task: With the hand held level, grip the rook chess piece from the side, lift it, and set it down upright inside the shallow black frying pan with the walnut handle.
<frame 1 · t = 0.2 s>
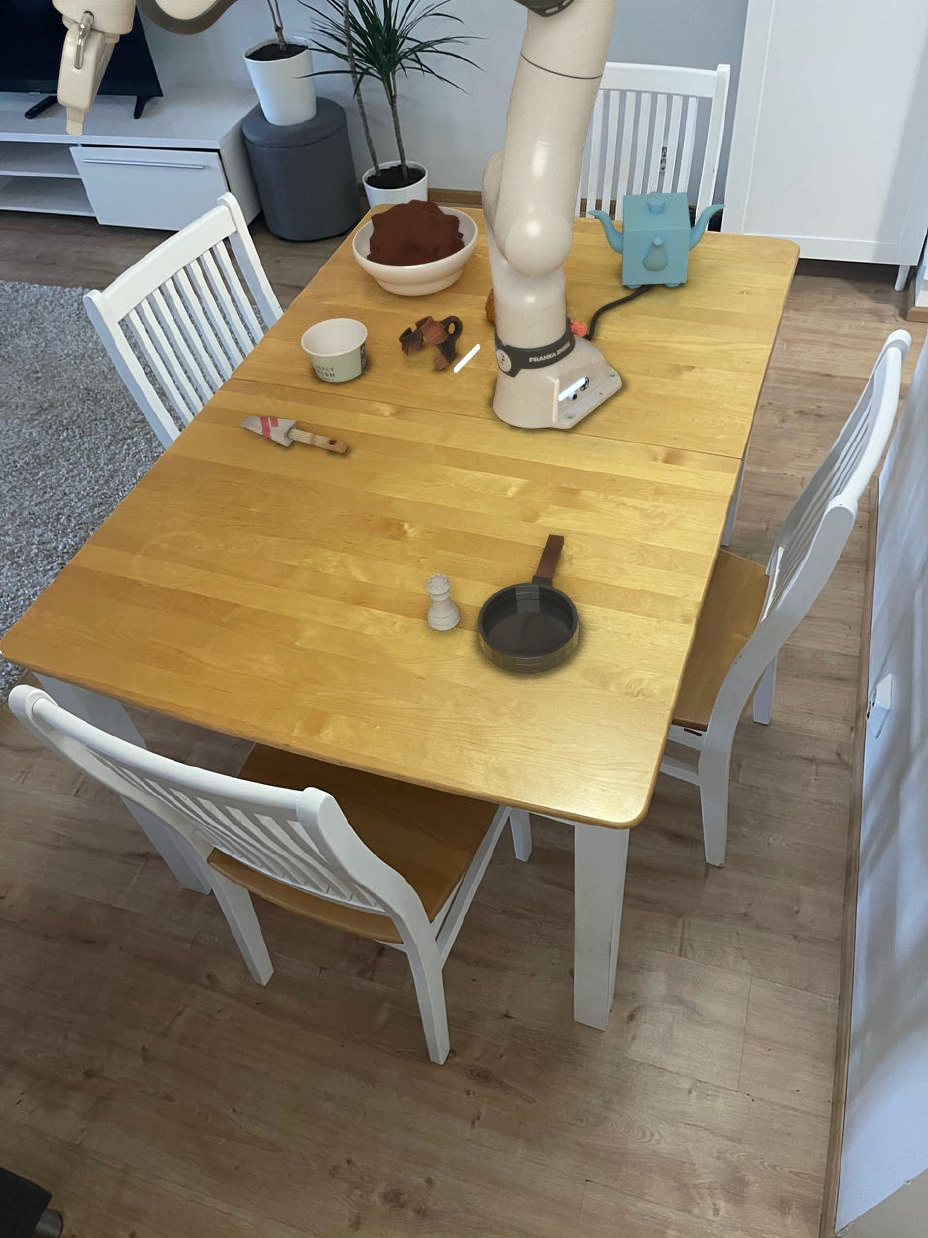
hand: (80, 118, 119), 54 cm above the table, tool tilted 30°, fingers open, 8 cm apart
rook chess piece: (444, 621, 130), on the table
teakettle: (652, 277, 184), on the table
pan: (528, 634, 127), on the table
pan handle: (548, 562, 132), point 2 cm above the table
food container: (341, 368, 174), on the table
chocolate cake: (421, 281, 192), on the table
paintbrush: (295, 441, 161), on the table
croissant: (525, 315, 179), on the table
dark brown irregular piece: (435, 355, 174), on the table
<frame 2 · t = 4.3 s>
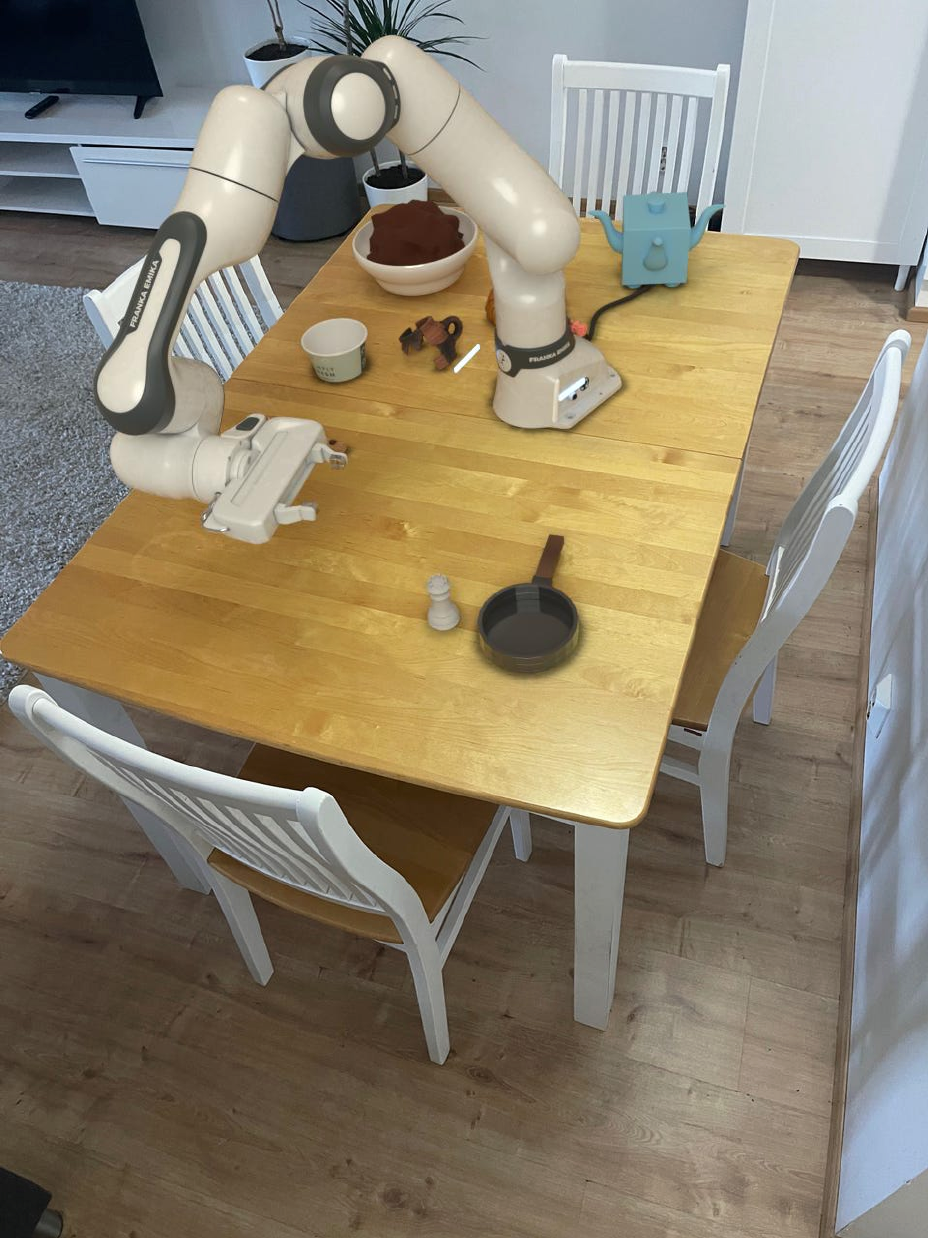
hand: (331, 486, 117), 22 cm above the table, tool horizontal, fingers open, 8 cm apart
nothing on the table moved.
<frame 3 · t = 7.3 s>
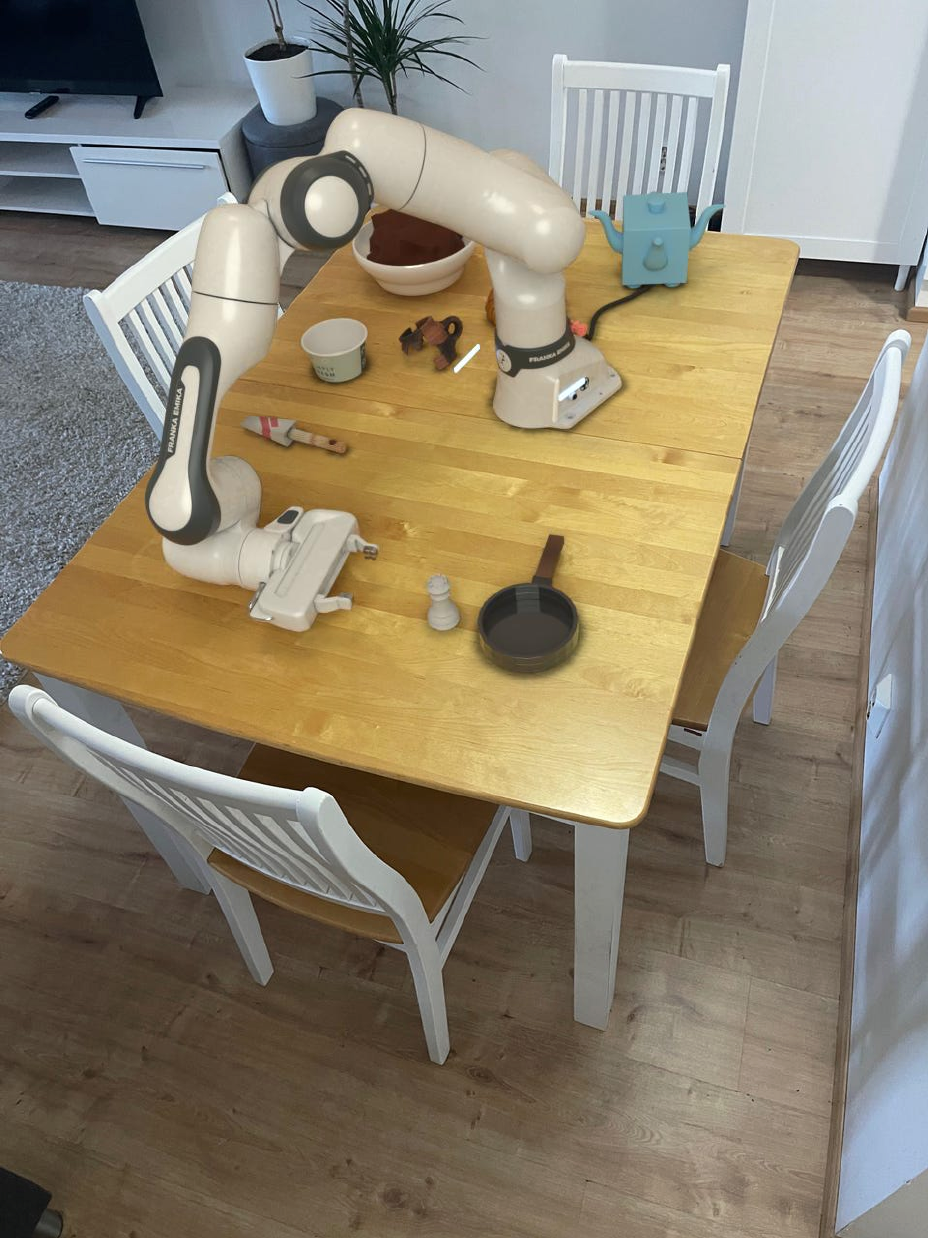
hand: (365, 576, 128), 6 cm above the table, tool horizontal, fingers open, 8 cm apart
nothing on the table moved.
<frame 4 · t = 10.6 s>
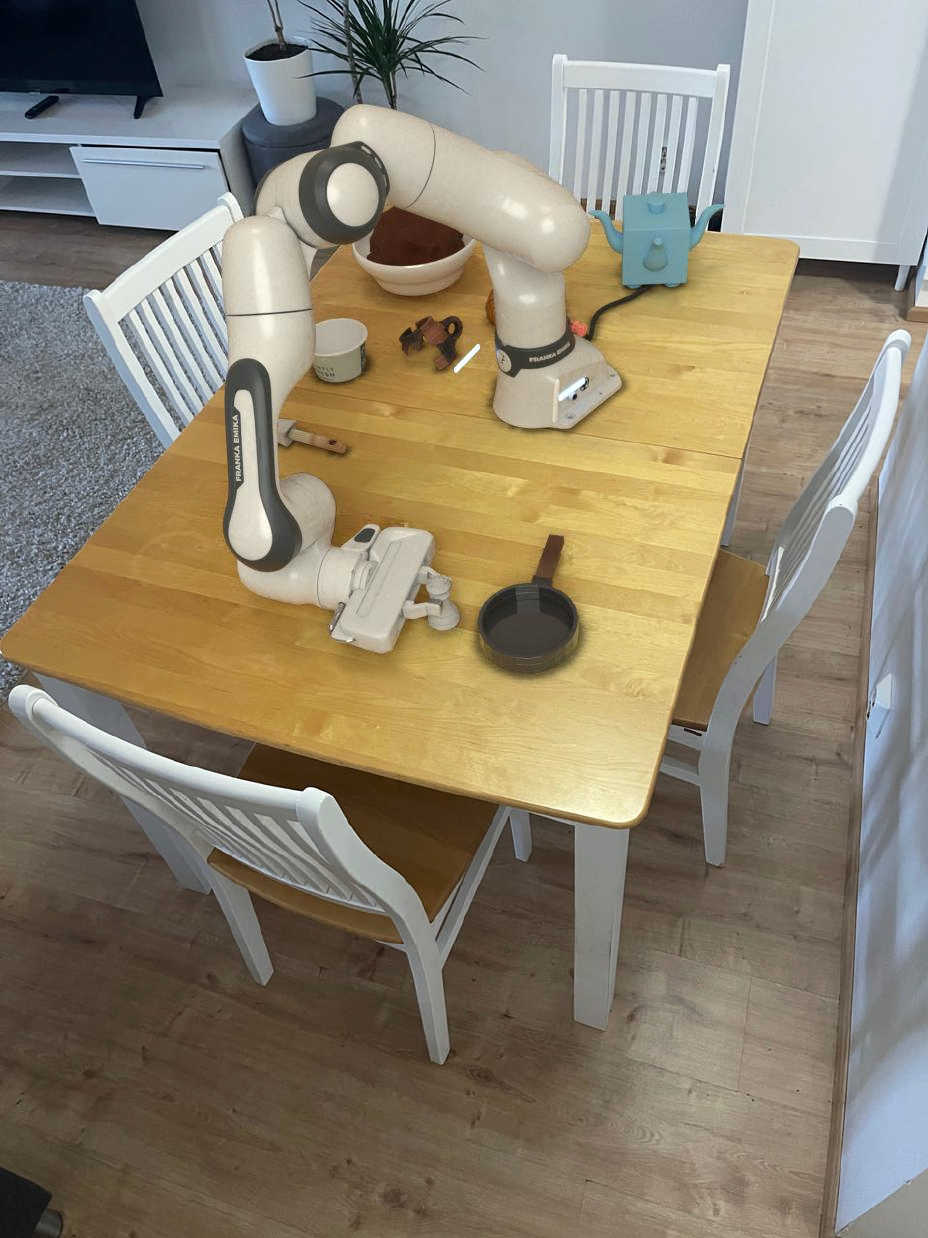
hand: (446, 596, 126), 5 cm above the table, tool horizontal, fingers closed on rook chess piece, 3 cm apart
rook chess piece: (444, 621, 130), on the table, touching gripper
everything else where it was.
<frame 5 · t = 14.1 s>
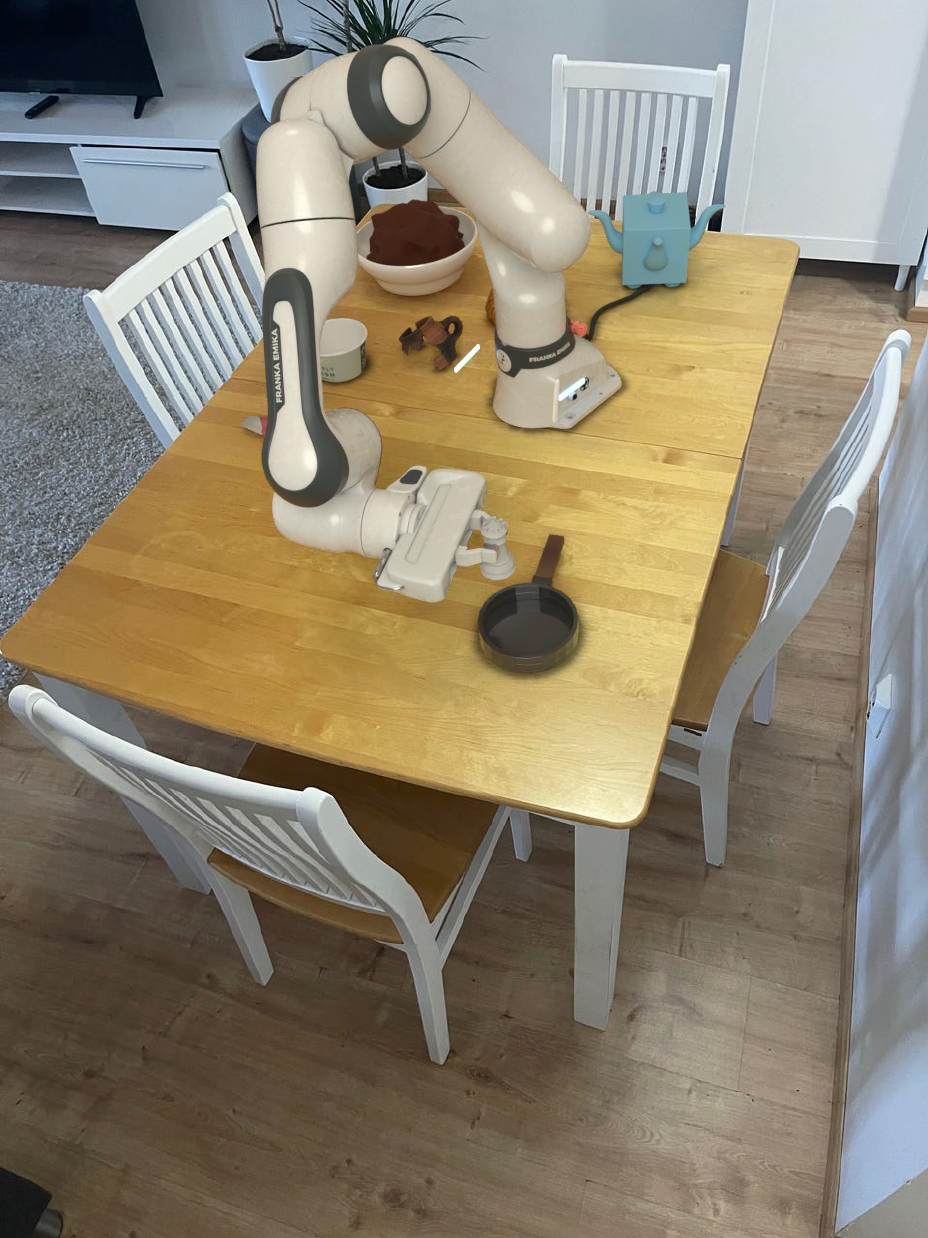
hand: (502, 542, 115), 17 cm above the table, tool horizontal, fingers closed on rook chess piece, 3 cm apart
rook chess piece: (498, 570, 119), point 12 cm above the table, touching gripper
everything else where it was.
when the fingers open (5 cm above the table, at t = 17.9 s): rook chess piece stays where it is, resting on pan.
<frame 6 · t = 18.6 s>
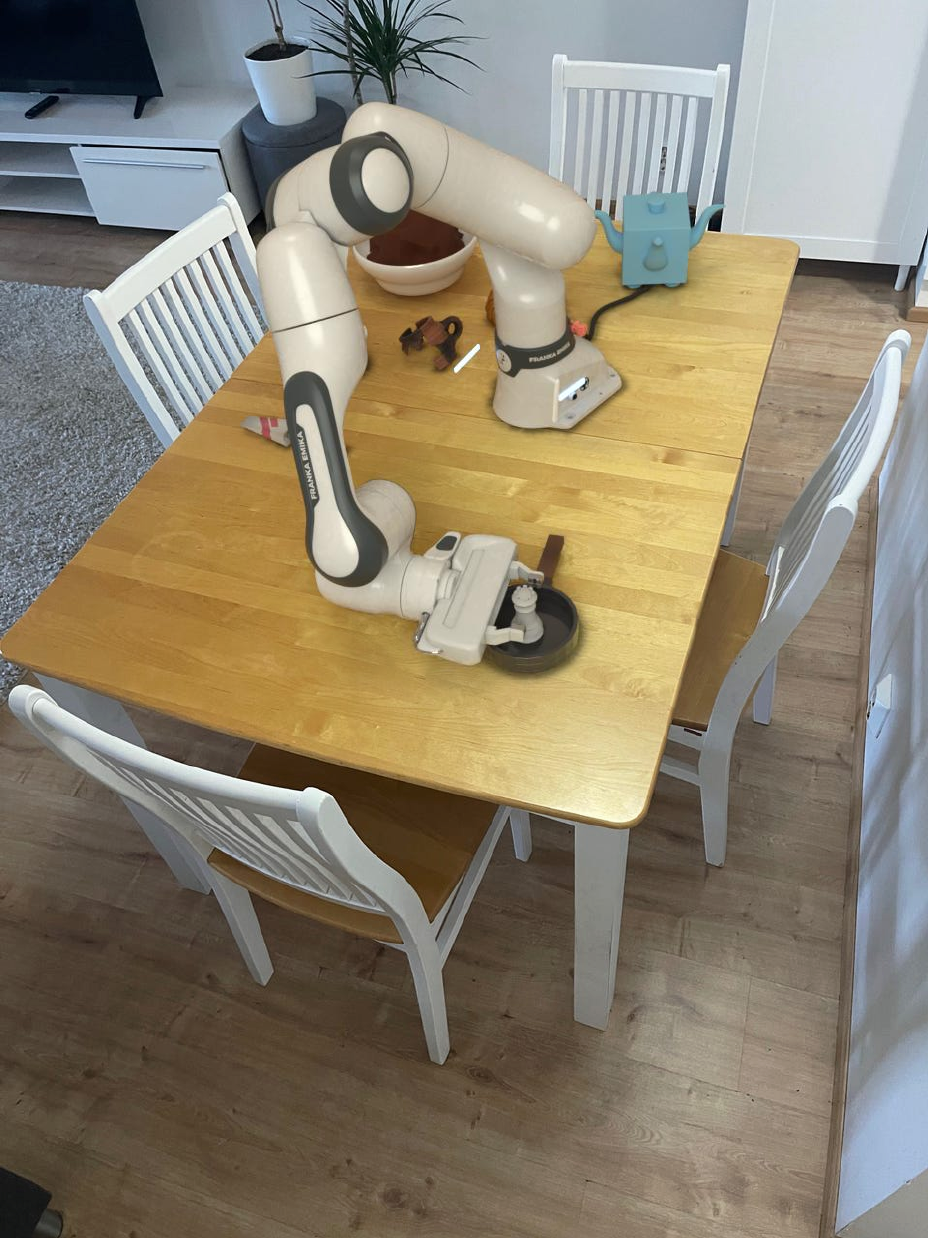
hand: (534, 606, 123), 6 cm above the table, tool horizontal, fingers open, 8 cm apart
rook chess piece: (527, 633, 127), resting on pan
everything else where it was.
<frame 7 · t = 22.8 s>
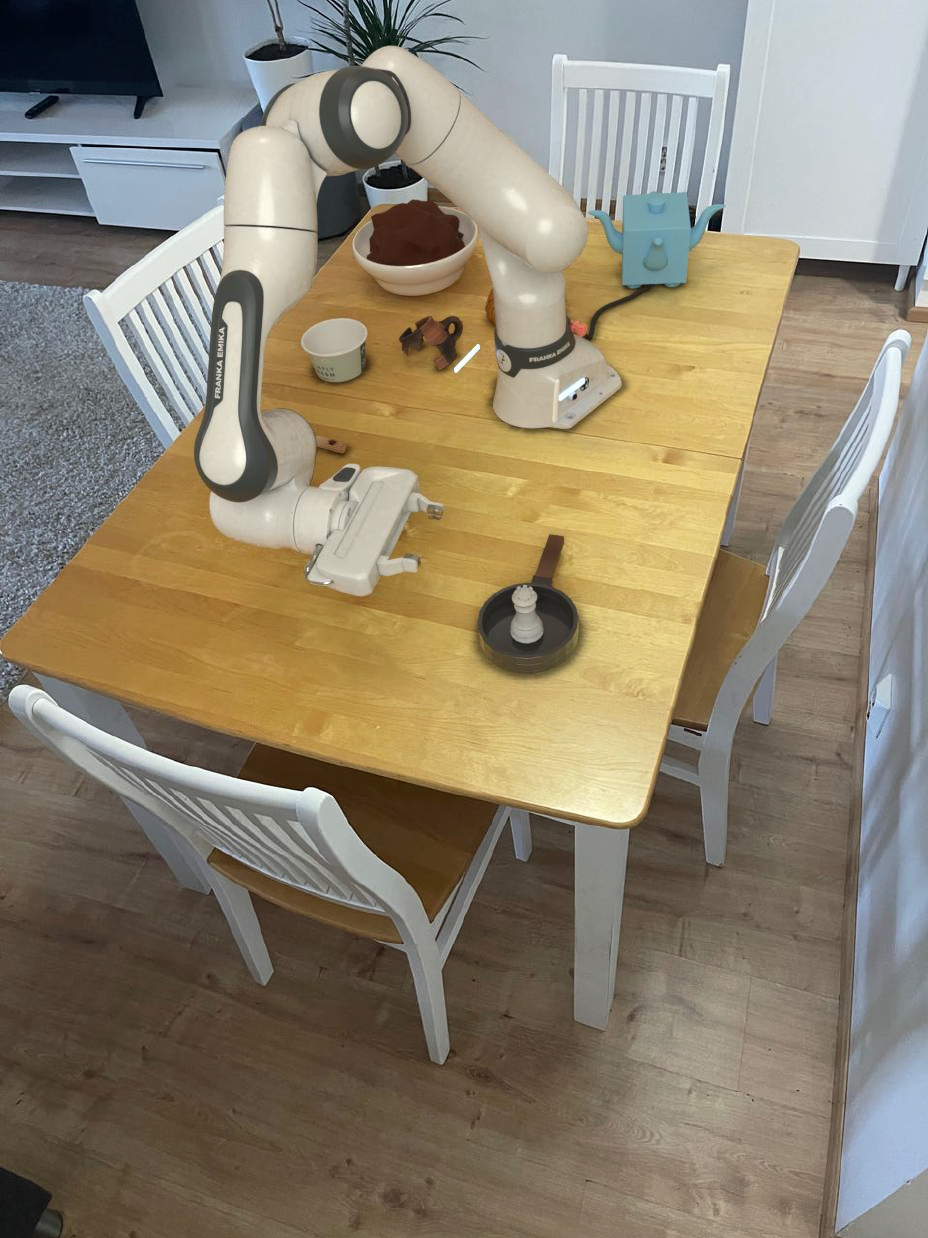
hand: (430, 537, 119), 16 cm above the table, tool horizontal, fingers open, 8 cm apart
nothing on the table moved.
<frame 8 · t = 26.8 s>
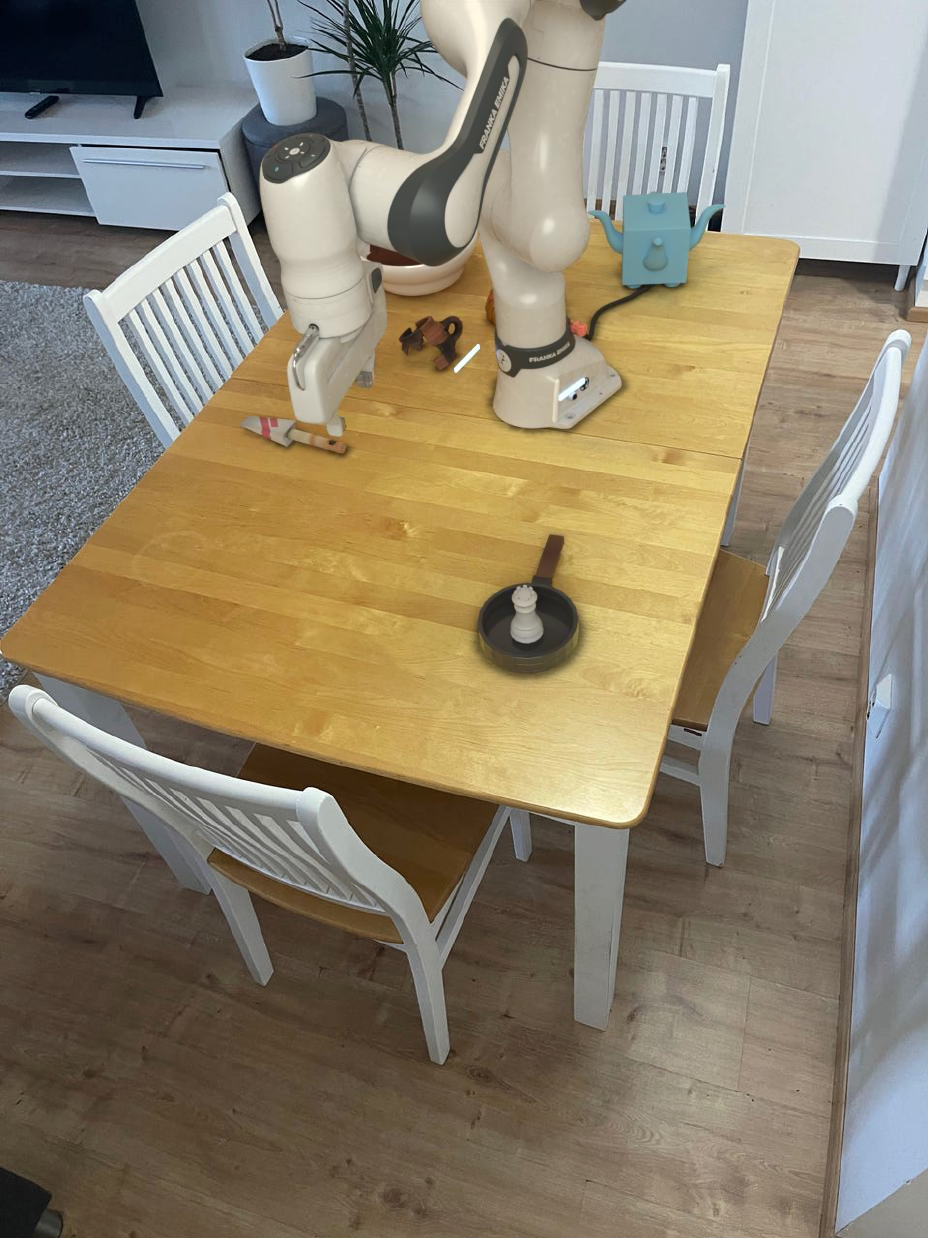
hand: (352, 407, 112), 31 cm above the table, tool pointing down, fingers open, 8 cm apart
nothing on the table moved.
at the end: rook chess piece inside the target area in the pan (0.2 cm from its centre), point 0.3 cm above the pan's base; rook chess piece tilted 0°; the gripper is holding nothing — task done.
